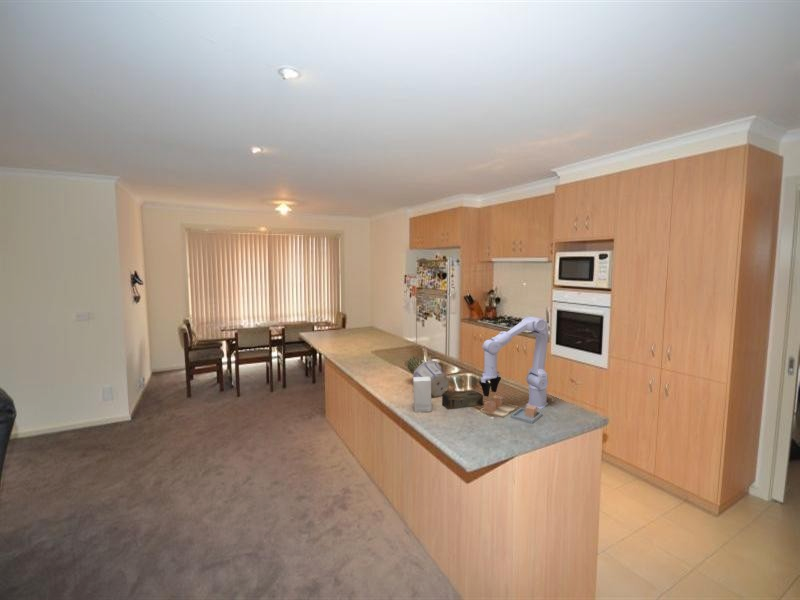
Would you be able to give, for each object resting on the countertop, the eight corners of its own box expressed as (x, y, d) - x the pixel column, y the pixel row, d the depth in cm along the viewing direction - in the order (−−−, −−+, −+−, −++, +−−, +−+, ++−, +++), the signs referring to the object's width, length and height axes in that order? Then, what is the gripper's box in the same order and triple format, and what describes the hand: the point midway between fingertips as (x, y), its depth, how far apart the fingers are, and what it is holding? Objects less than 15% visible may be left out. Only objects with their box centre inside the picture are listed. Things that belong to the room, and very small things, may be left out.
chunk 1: (487, 408, 186) (488, 400, 186) (495, 410, 184) (495, 402, 183) (483, 411, 183) (484, 402, 183) (491, 413, 181) (491, 404, 180)
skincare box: (430, 407, 190) (430, 376, 188) (431, 412, 183) (431, 380, 182) (413, 407, 190) (413, 376, 188) (414, 412, 183) (414, 380, 181)
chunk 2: (494, 403, 193) (494, 395, 193) (502, 404, 192) (502, 396, 191) (492, 405, 190) (492, 397, 189) (500, 407, 188) (501, 399, 188)
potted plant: (456, 369, 203) (425, 345, 228) (426, 376, 195) (398, 350, 220) (452, 398, 209) (423, 371, 234) (423, 405, 201) (396, 377, 225)
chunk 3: (528, 413, 181) (528, 404, 180) (537, 415, 178) (537, 406, 178) (525, 415, 178) (525, 407, 177) (533, 417, 175) (533, 409, 175)
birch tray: (495, 402, 195) (495, 400, 195) (518, 408, 188) (518, 406, 188) (479, 412, 183) (479, 410, 183) (503, 418, 176) (503, 416, 175)
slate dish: (521, 410, 184) (521, 407, 184) (542, 416, 178) (542, 412, 178) (510, 418, 175) (510, 415, 175) (532, 424, 169) (532, 421, 169)
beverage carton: (483, 406, 190) (483, 393, 190) (447, 411, 185) (447, 398, 184) (476, 401, 198) (476, 388, 197) (441, 405, 193) (441, 392, 192)
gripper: (490, 361, 189) (489, 388, 191) (475, 367, 178) (474, 396, 180) (503, 363, 185) (502, 391, 186) (489, 370, 174) (488, 399, 175)
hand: (490, 393), depth 183 cm, fingers open, 7 cm apart
